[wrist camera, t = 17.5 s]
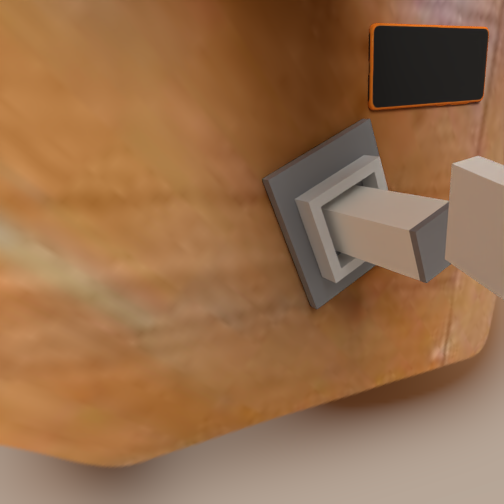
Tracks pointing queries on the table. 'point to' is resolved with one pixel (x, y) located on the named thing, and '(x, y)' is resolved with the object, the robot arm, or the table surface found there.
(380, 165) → the dock
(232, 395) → the table surface
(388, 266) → the block
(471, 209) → the robot arm
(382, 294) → the table surface
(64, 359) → the table surface
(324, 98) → the table surface
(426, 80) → the smartphone
